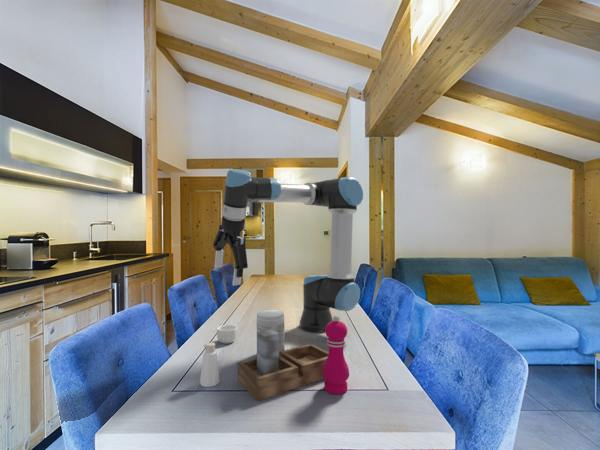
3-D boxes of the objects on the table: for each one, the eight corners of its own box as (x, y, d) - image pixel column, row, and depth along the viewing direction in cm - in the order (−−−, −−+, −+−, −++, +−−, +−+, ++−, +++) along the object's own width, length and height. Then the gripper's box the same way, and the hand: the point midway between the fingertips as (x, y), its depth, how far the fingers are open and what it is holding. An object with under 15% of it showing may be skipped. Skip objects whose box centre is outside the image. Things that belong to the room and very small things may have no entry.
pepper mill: (320, 382, 92) (321, 312, 92) (345, 382, 93) (346, 311, 93) (324, 396, 85) (325, 319, 85) (352, 395, 86) (352, 319, 86)
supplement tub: (278, 348, 118) (278, 308, 118) (289, 358, 109) (289, 314, 110) (252, 353, 114) (253, 311, 114) (261, 363, 105) (262, 317, 105)
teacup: (233, 346, 120) (233, 331, 120) (213, 344, 122) (213, 330, 122) (241, 337, 130) (241, 323, 130) (223, 335, 131) (223, 322, 131)
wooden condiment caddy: (320, 357, 110) (320, 314, 110) (345, 370, 100) (346, 323, 100) (237, 381, 92) (237, 330, 93) (258, 401, 82) (258, 343, 82)
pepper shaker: (212, 376, 96) (212, 339, 96) (223, 382, 92) (223, 343, 92) (195, 383, 92) (196, 344, 92) (207, 389, 88) (207, 348, 88)
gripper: (206, 206, 113) (201, 261, 119) (242, 231, 95) (234, 295, 101) (226, 205, 117) (220, 259, 124) (264, 229, 100) (255, 290, 106)
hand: (226, 275), depth 113 cm, fingers open, 13 cm apart
